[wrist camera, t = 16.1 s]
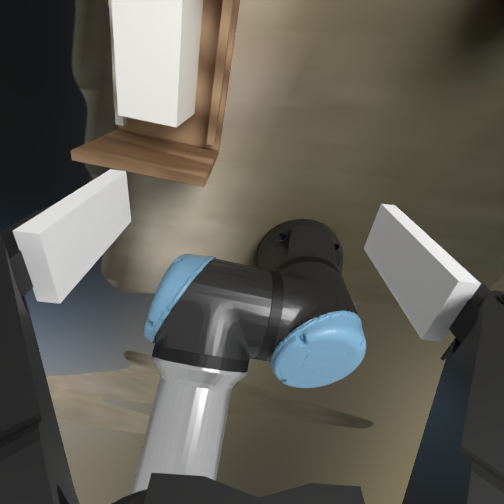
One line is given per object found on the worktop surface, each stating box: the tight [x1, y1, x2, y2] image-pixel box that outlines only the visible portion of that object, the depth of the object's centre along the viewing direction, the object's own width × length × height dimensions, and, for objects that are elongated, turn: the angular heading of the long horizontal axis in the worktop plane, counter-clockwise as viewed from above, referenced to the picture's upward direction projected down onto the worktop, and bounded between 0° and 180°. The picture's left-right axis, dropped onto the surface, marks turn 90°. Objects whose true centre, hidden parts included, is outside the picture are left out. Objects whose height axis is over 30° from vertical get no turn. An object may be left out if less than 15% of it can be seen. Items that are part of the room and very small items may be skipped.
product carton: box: [111, 0, 203, 128], centre depth 30 cm, size 12×6×10 cm, turn 169°
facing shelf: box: [71, 0, 240, 187], centre depth 30 cm, size 22×14×14 cm, turn 168°
